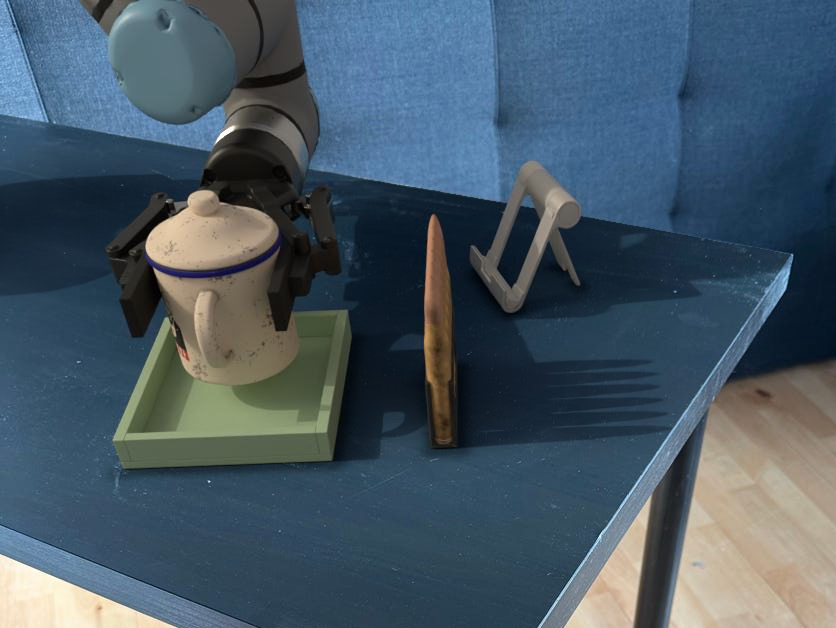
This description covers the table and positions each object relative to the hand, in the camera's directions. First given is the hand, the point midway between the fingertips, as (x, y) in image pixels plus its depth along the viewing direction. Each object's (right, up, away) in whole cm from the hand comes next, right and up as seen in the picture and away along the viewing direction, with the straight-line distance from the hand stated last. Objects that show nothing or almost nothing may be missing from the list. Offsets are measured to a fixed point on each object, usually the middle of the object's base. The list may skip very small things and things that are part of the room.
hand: (204, 315), depth 60 cm
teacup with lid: (0, -1, +8) cm, 8 cm away
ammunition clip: (+15, -4, +8) cm, 18 cm away
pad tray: (0, -3, +10) cm, 10 cm away
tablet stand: (+22, +10, +20) cm, 32 cm away
